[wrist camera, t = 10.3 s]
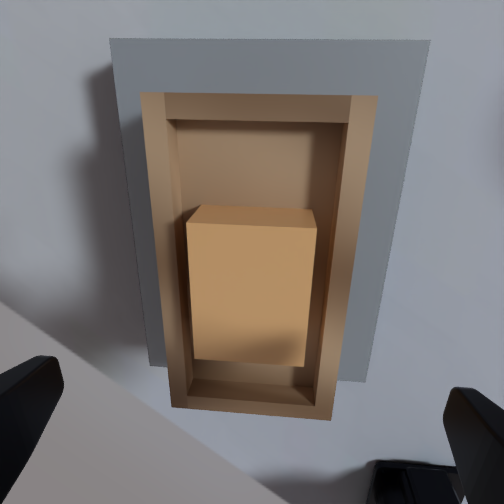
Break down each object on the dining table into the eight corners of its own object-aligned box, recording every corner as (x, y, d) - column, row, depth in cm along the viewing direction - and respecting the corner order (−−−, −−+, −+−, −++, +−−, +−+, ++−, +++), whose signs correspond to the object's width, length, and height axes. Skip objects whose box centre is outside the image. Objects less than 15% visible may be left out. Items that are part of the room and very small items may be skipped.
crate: (301, 331, 14) (303, 366, 12) (206, 325, 14) (194, 358, 12) (312, 209, 12) (316, 228, 10) (201, 204, 12) (186, 222, 10)
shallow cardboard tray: (320, 348, 18) (330, 420, 14) (196, 340, 19) (171, 407, 14) (349, 98, 13) (378, 95, 9) (183, 96, 14) (140, 92, 10)
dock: (354, 346, 21) (365, 382, 19) (166, 333, 22) (149, 365, 20) (404, 52, 15) (430, 40, 12) (139, 49, 16) (109, 38, 13)
